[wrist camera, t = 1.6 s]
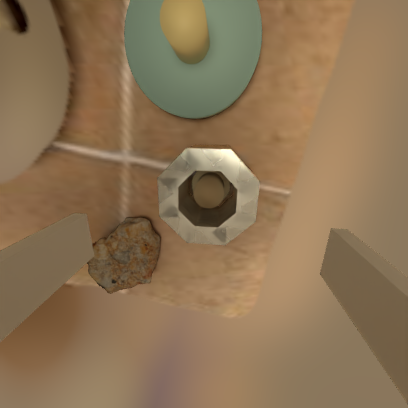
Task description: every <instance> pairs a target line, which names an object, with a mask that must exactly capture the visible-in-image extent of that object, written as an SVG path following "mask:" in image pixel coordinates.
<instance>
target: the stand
mask: <svg viewBox="0 0 408 408" xmlns="http://www.w3.org/2000/svg"><path fill="white" fill-rule="evenodd" d="M192 190H193V194H194V199H195V201H196V202H197V203H198V204H199V205H200V206H202V207H204V208H214V207H216V206H218V205H219V204H220V203H221V202H222V200H223V199H224V198H225V197H226V196H227V195H228V193H229V190H230V181H229V180H228V179H227V178H226V177H225V175H224V174H223V173H222V172H221V171H197V172H196V173H195V175H194V177H193V179H192Z"/></svg>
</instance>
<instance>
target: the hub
mask: <svg viewBox="0 0 408 408" xmlns="http://www.w3.org/2000/svg"><path fill="white" fill-rule="evenodd" d="M124 37H125V49H126V55H127V59H128V63H129V66H130V69H131V72H132V74H133V76H134V78H135V80H136V82H137V84H138V85H139V87H140V88H141V90H142V91H143V92H144V94H145V95H146V96H147V97H148V98H149V99H150V100H151V101H152V102H153V103H154V104H156V105H157V106H158V107H160V108H161V109H163V110H165V111H167V112H169V113H171V114H174V115H177V116H179V117H183V118H188V119H202V118H207V117H211V116H214V115H216V114H218V113H220V112H222V111H224V110H225V109H227V108H228V107H230V106H231V105H232V104H233V103H234V102H235V101H236V100H237V99H238V98H239V97H240V95H241V94H242V93H243V91H244V90H245V88H246V87H247V85H248V83H249V81H250V79H251V77H252V75H253V73H254V70H255V68H256V65H257V62H258V58H259V55H260V49H261V43H262V23H261V15H260V10H259V6H258V3H257V0H130V3H129V6H128V10H127V14H126V20H125V31H124Z"/></svg>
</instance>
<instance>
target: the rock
mask: <svg viewBox="0 0 408 408" xmlns="http://www.w3.org/2000/svg"><path fill="white" fill-rule="evenodd" d="M92 246H93V252H94V257H93V258H92V259H90V260H89V261H88V262H87V264H88V265H89V268H88V272H89V274H90V275H91V277H92V278H93V279H94V280H95V281H96V282H97V284H98V285H99V286H101V287H102V288H104V289H105V290H106V291H107V292H108V293H110V294H111V293H113V292H116V291H119V290H122V289H126V288H132V287H134V286H136V285H137V284H145V283H150V282H151V277H152V273H153V270H154V268H155V265H156V261H157V260H158V253H159V248H160V237H159V236H158V235H157V234H156V233H155V232H154V230H153V229H152V226H151V224H150V221H149V220H147V219H145V218H140V217H139V218H126V219H125V221H124V222H122V223H121V224H119V226H118V227H117V229H116V230H115V231H114V232H112V233H111V234H110V235H109V236H108V238H101V239H100V240H98V241H97V242H95V243H94V244H93V245H92Z"/></svg>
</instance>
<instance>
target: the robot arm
mask: <svg viewBox="0 0 408 408" xmlns="http://www.w3.org/2000/svg"><path fill="white" fill-rule="evenodd" d="M93 257H94V252H93V246H92V241H91V235H90V229H89V224H88V218H87V214H82V213H73V214H71V215H69V216H67V217H65V218H63V219H61V220H60V221H58V222H56V223H54V224H52V225H50V226H48V227H46V228H44V229H42V230H40V231H38V232H36V233H34V234H32V235H30V236H28V237H26V238H24V239H22V240H20V241H19V242H17V243H15V244H13V245H11V246H9V247H7V248H5V249H3V250H1V251H0V342H1V341H2V340H3V339H4V338H5V337H6V336H7V335H8V334H10V333H11V332H12V331H13V330H14V329H15V328H16V327H17V326H18V325H19V324H21V322H23V321H24V320H25V319H26V318H27V317H28V316H29V315H30V314H31V313H32V312H33V311H35V310H36V309H37V308H38V307H39V306H40V305H41V304H42V303H43V302H45V301H46V300H47V299H48V298H49V297H50V296H51V295H52V294H53V293H54V292H55V291H56V290H57V289H59V288H60V287H61V286H62V285H63V284H64V283H65V282H66V281H67V280H69V279H70V278H71V277H72V276H73V275H74V274H75V273H76V272H77V271H78V270H79V269H81V268H82V267H83V266H84V265H85V264H86V263H87V262H88V261H89V260H90V259H92V258H93ZM320 275H321V276H322V278H323V279H324V281H325V282H326V284H327V285H328V287H329V288H330V289H331V291H332V292H333V294H334V295H335V297H336V298H337V300H338V301H339V303H340V304H341V306H342V307H343V309H344V310H345V312H346V313H347V315H348V316H349V318H350V319H351V321H352V322H353V324H354V325H355V327H356V328H357V330H358V331H359V333H360V334H361V335H362V337H363V339H364V340H365V341H366V343H367V344H368V346H369V347H370V349H371V350H372V352H373V353H374V355H375V356H376V358H377V359H378V361H379V362H380V364H381V365H382V367H383V368H384V370H385V371H386V373H387V374H388V376H389V377H390V379H391V380H392V382H393V383H394V384H395V386H396V388H397V389H398V391H399V392H400V393H401V395H402V396H403V398H404V399H405V401H406V402H407V404H408V277H407V276H406V275H405V274H403V273H402V272H401V271H400V270H398V269H397V268H396V267H395V266H393V265H392V264H390V263H389V262H388V261H387V260H386V259H384V258H383V257H382V256H380V255H379V254H378V253H377V252H375V251H374V250H373V249H372V248H370V247H369V246H368V245H366V244H365V243H364V242H363V241H361V240H360V239H359V238H357V237H356V236H355V235H354V234H352V233H351V232H350V231H348V230H347V229H333V228H331V231H330V235H329V239H328V243H327V248H326V252H325V255H324V259H323V264H322V268H321V272H320Z"/></svg>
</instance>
